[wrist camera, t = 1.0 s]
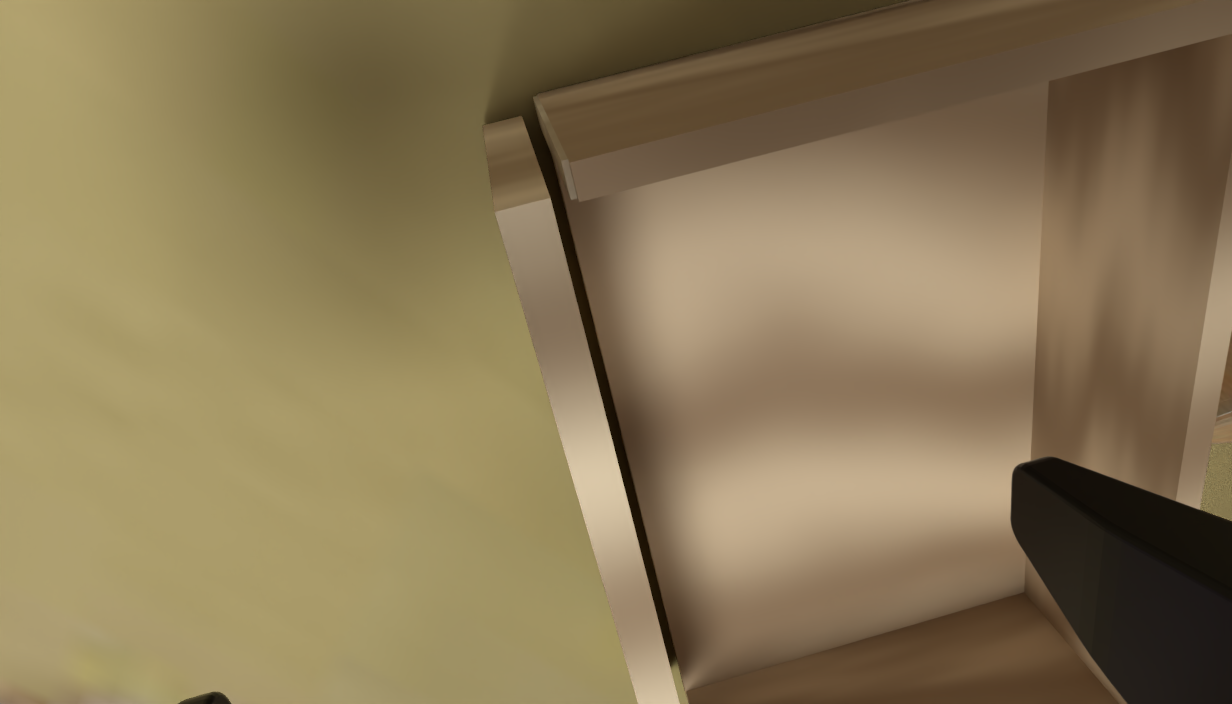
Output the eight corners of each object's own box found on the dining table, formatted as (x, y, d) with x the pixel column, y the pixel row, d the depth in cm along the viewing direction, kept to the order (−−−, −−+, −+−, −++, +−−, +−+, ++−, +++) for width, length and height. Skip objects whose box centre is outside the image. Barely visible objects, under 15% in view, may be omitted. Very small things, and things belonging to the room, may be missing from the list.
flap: (667, 677, 25) (721, 865, 20) (638, 686, 25) (684, 877, 20) (521, 115, 16) (550, 197, 12) (477, 127, 16) (487, 213, 12)
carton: (1029, 587, 26) (1158, 736, 21) (680, 689, 25) (733, 866, 20) (1062, -38, 17) (1294, -23, 12) (531, 94, 17) (562, 164, 12)
